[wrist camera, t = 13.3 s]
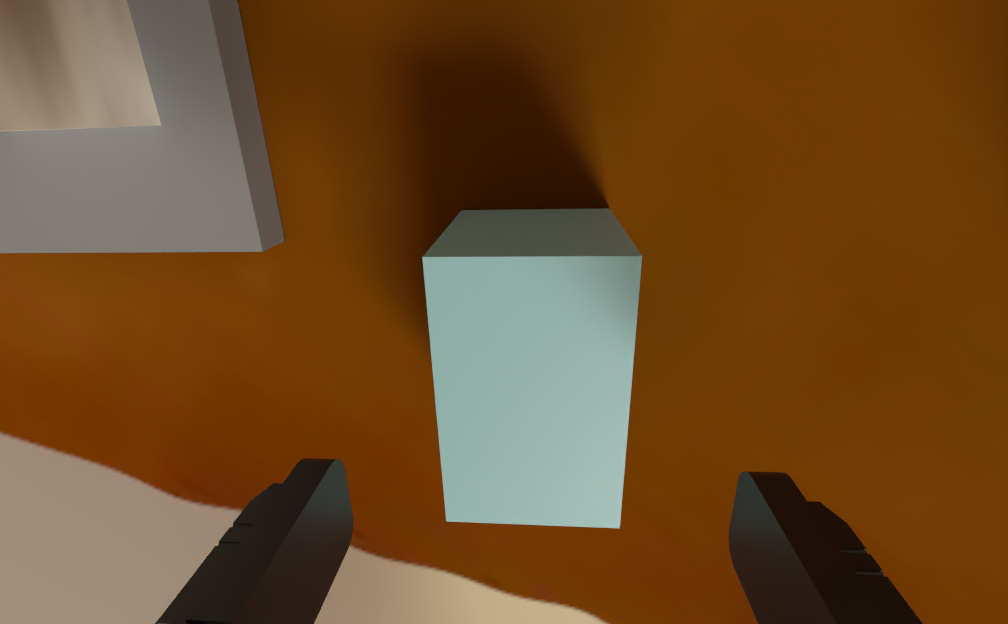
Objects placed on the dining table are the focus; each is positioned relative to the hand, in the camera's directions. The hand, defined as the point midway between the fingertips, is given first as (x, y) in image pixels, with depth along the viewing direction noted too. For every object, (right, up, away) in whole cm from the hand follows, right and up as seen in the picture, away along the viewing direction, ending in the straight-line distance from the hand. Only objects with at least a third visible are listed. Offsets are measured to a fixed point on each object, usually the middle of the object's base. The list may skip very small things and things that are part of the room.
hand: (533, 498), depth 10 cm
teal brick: (+1, +4, +8) cm, 9 cm away
